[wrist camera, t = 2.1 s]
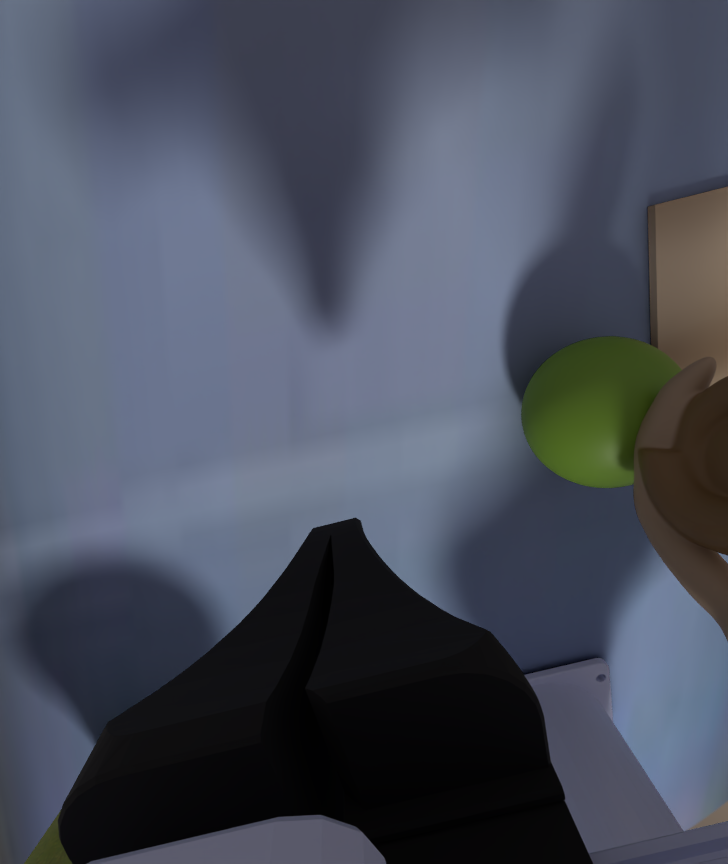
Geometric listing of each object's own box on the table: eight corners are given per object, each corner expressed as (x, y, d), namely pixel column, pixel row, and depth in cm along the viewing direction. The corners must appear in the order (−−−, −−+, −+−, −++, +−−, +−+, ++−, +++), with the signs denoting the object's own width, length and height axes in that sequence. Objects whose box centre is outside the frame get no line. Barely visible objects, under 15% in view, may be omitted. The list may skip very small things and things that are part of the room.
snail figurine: (483, 470, 19) (707, 736, 7) (517, 322, 17) (889, 372, 6) (597, 482, 19) (972, 747, 8) (642, 339, 17) (1220, 419, 6)
